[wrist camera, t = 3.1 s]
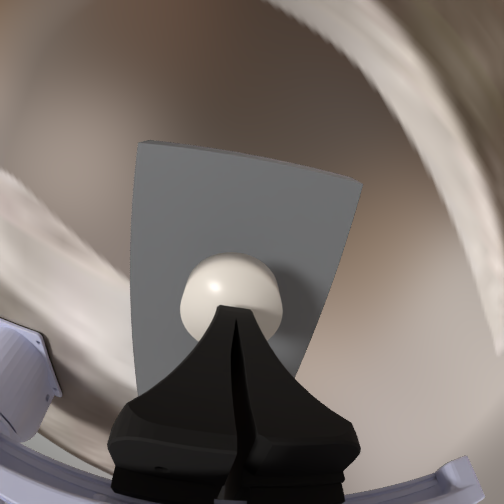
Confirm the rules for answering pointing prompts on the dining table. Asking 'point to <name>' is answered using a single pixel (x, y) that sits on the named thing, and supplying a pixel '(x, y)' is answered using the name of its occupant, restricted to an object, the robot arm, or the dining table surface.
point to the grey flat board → (230, 241)
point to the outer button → (231, 292)
